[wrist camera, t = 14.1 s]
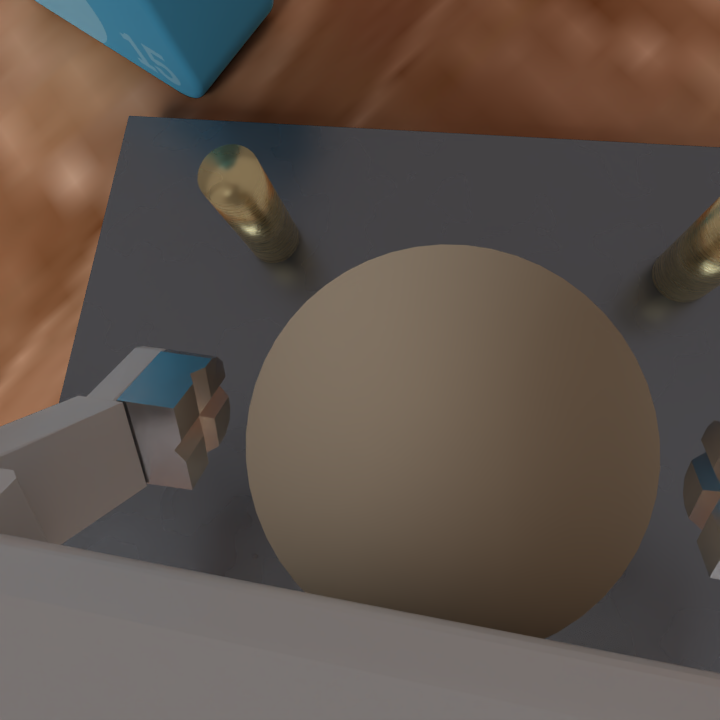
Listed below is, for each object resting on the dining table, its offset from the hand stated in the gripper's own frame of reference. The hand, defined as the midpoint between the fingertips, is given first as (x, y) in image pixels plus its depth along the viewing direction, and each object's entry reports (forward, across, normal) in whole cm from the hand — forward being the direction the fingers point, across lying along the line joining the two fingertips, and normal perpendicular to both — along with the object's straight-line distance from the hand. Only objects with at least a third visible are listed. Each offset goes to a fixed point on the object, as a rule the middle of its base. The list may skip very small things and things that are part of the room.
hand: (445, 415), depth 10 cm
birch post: (+4, 0, +5) cm, 6 cm away
